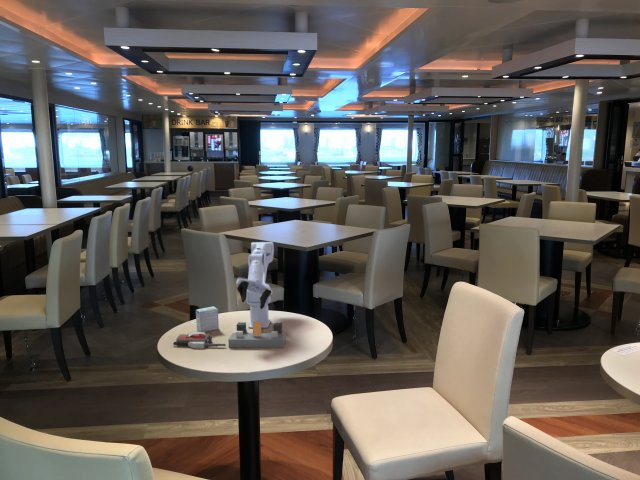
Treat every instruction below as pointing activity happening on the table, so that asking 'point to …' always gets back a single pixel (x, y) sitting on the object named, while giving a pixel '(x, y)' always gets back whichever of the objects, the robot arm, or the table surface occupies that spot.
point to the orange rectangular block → (257, 328)
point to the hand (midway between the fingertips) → (253, 304)
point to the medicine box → (207, 319)
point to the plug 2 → (277, 327)
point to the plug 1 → (241, 327)
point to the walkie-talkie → (195, 340)
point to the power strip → (257, 340)
